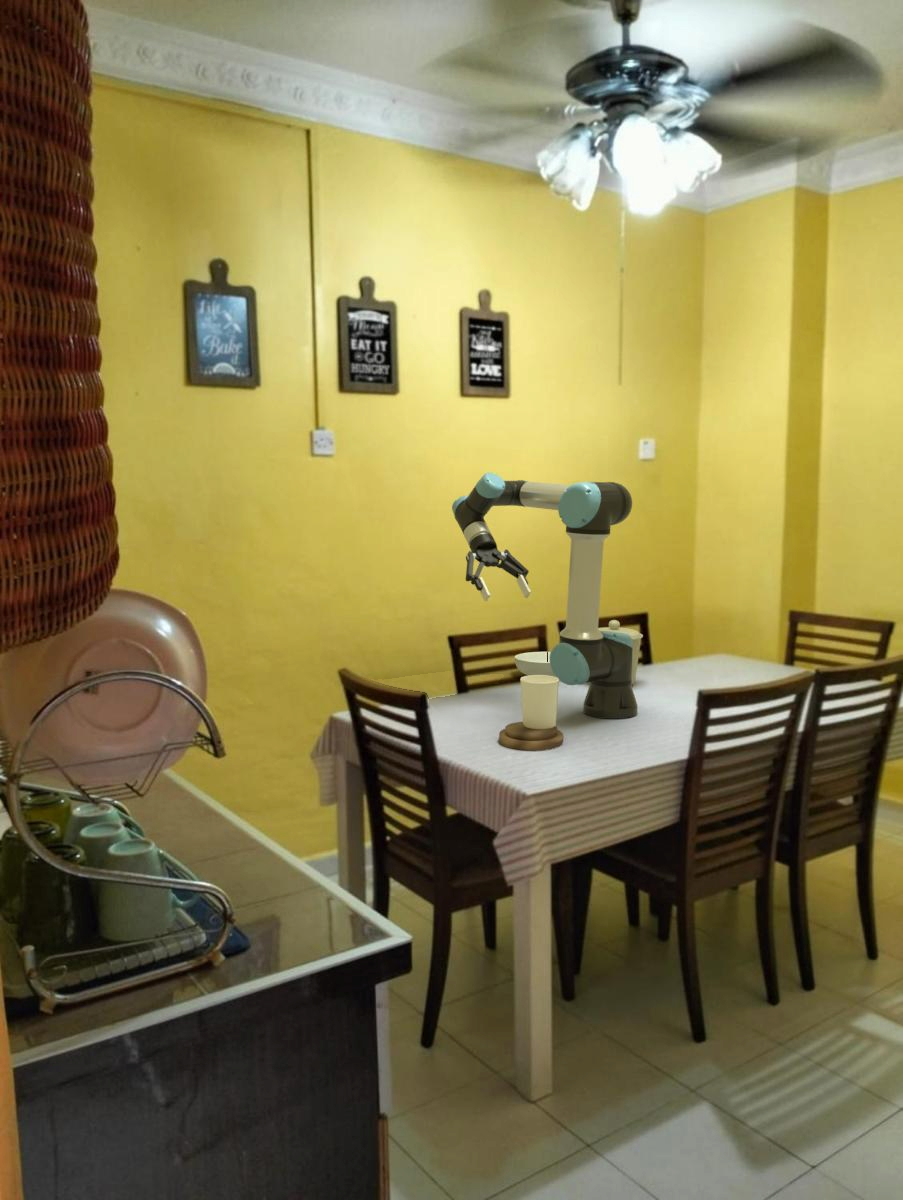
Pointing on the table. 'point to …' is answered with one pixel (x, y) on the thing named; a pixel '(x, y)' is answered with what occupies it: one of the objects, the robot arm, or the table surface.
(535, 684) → the candle holder
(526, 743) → the walnut pedestal
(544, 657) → the serving bowl
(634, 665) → the canister
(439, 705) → the table surface
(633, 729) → the table surface
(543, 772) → the table surface
